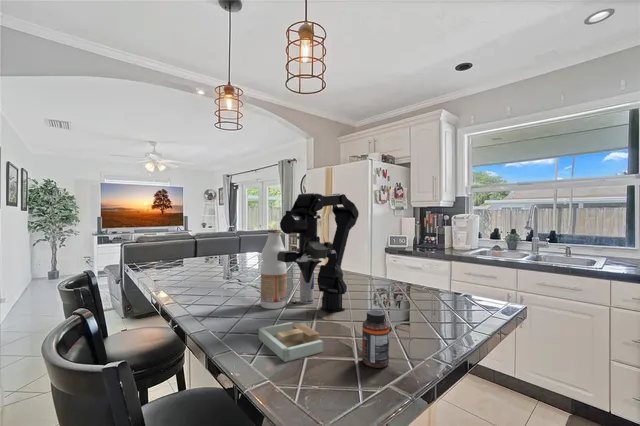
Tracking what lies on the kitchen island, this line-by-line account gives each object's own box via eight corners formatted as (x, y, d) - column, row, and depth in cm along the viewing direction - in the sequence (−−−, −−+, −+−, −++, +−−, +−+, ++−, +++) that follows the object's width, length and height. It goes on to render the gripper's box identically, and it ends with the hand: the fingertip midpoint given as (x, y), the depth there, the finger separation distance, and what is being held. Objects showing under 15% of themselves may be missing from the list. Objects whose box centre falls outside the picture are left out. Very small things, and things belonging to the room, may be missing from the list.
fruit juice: (260, 310, 107) (262, 230, 108) (260, 302, 116) (261, 229, 117) (287, 308, 109) (288, 230, 110) (284, 301, 119) (285, 229, 119)
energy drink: (315, 301, 120) (315, 270, 120) (310, 304, 115) (311, 272, 115) (302, 299, 122) (303, 269, 122) (297, 303, 117) (297, 271, 117)
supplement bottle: (359, 357, 72) (359, 308, 72) (384, 356, 72) (384, 308, 72) (365, 369, 66) (365, 316, 66) (392, 368, 66) (392, 316, 66)
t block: (301, 334, 86) (301, 323, 86) (319, 345, 78) (319, 333, 78) (272, 340, 81) (272, 329, 81) (287, 353, 73) (288, 340, 73)
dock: (291, 330, 88) (291, 321, 88) (322, 351, 74) (322, 341, 74) (257, 337, 82) (257, 328, 82) (284, 362, 69) (284, 350, 69)
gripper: (293, 234, 85) (293, 291, 85) (347, 233, 95) (346, 284, 95) (276, 233, 94) (276, 284, 94) (327, 232, 105) (326, 278, 104)
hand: (307, 282), depth 97 cm, fingers closed
